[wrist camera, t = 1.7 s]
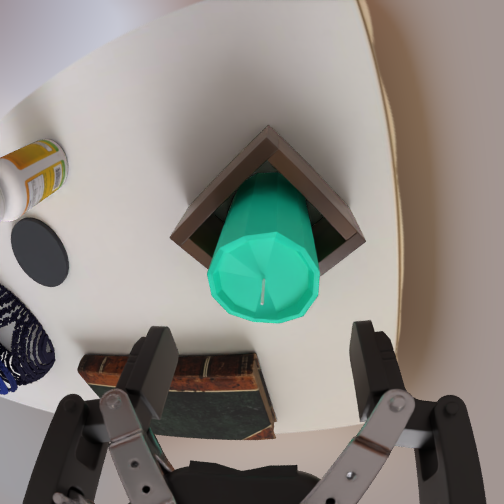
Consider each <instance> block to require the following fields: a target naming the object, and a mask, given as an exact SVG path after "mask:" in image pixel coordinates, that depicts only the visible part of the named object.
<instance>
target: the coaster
mask: <svg viewBox="0 0 504 504" xmlns="http://www.w3.org/2000/svg"><path fill="white" fill-rule="evenodd" d="M11 244H12V249H13V252H14V255H15V257H16V260H17V261H18V263H19V265H20V266H21V268H22V269H23V270H24V272H25V273H26V274H27V275H28V276H29V277H30V278H32V279H33V280H34V281H36V282H37V283H39V284H41V285H44V286H48V287H55V286H58V285H60V284H61V283H62V282H63V281H64V280H65V279H66V277H67V274H68V270H69V263H68V257H67V254H66V251H65V249H64V247H63V245H62V243H61V241H60V239H59V238H58V237H57V235H56V234H55V233H54V232H53V231H52V230H51V228H49V227H48V226H47V225H46V224H44V223H43V222H41V221H39V220H37V219H34V218H24V219H22V220H20V221H19V222H18V223H17V224H16V225H15V226H14V228H13V230H12V234H11Z"/></svg>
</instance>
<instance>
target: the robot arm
mask: <svg viewBox="0 0 504 504" xmlns="http://www.w3.org/2000/svg"><path fill="white" fill-rule="evenodd" d="M349 353H350V362H351V367H352V373H353V379H354V385H355V391H356V398H357V404H358V411H359V418H360V422H364V421H366V422H365V424H364V425H363V427H362V428H361V430H360V431H359V433H358V434H357V435H356V436H355V437H353V439H352V440H351V441H350V442H349V444H348V445H347V446H346V448H345V449H344V450H343V452H342V453H341V454H340V456H339V457H338V458H337V460H336V461H335V462H334V464H333V465H332V466H331V468H330V469H329V470H328V471H327V473H326V474H325V475H324V476H323V478H322V479H319V478H317V477H316V476H314V475H312V474H309V473H306V472H302V471H297V465H286V466H285V465H283V466H282V465H281V466H266V467H261V468H256V469H251V470H245V471H240V470H236V469H233V468H229V467H226V466H223V465H220V464H217V463H209V462H199V461H190V465H189V467H183V468H179V469H176V470H174V468H173V467H172V465H171V464H170V462H169V461H168V459H167V458H166V456H165V454H164V452H163V451H162V448H161V446H160V444H159V443H158V440H157V438H156V436H155V434H154V432H153V430H152V428H151V426H150V422H151V419H157V420H160V419H161V415H162V412H163V409H164V405H165V402H166V398H167V395H168V392H169V389H170V385H171V382H172V379H173V375H174V372H175V369H176V366H177V363H178V349H177V347H176V344H175V342H174V339H173V337H172V334H171V331H170V329H169V327H162V326H152V327H151V328H150V329H149V332H148V334H147V336H146V337H141V338H140V339H139V340H138V341H137V342H136V343H135V344H134V346H133V348H132V351H131V353H130V355H129V357H128V359H127V362H126V364H125V366H124V368H123V371H122V373H121V375H120V378H119V380H118V382H117V385H116V387H115V389H112V390H109V391H107V392H106V393H105V394H103V396H102V397H101V399H95V400H87V401H84V400H83V399H82V398H81V397H80V396H79V395H77V394H70V395H67V396H65V397H64V398H63V399H62V400H61V401H60V403H59V405H58V407H57V409H56V412H55V414H54V417H53V419H52V421H51V424H50V426H49V429H48V431H47V434H46V436H45V439H44V442H43V444H42V447H41V450H40V453H39V455H38V458H37V461H36V464H35V466H34V469H33V472H32V475H31V478H30V481H29V484H28V488H27V491H26V494H25V497H24V500H23V504H95V503H94V498H95V494H96V490H97V486H98V482H99V478H100V475H101V471H102V467H103V463H104V460H105V456H106V453H107V449H108V447H109V451H110V453H111V456H112V459H113V462H114V464H115V467H116V469H117V472H118V475H119V477H120V479H121V482H122V484H123V486H124V489H125V491H126V493H127V496H128V498H129V500H130V503H129V504H357V503H358V502H359V500H360V499H361V497H362V496H363V495H364V493H365V492H366V490H367V489H368V488H369V486H370V485H371V483H372V481H373V480H374V479H375V477H376V476H377V474H378V473H379V471H380V470H381V468H382V466H383V465H384V463H385V462H386V460H387V458H388V457H389V455H390V453H391V451H392V449H393V447H394V446H401V447H409V448H414V451H415V459H416V468H417V477H418V487H419V500H420V504H486V497H485V491H484V484H483V478H482V473H481V467H480V462H479V457H478V452H477V448H476V443H475V439H474V435H473V431H472V427H471V423H470V419H469V416H468V412H467V408H466V405H465V403H464V402H463V400H462V399H460V398H459V397H457V396H454V395H446V396H443V397H441V398H440V399H439V400H438V401H437V402H431V401H422V400H418V399H415V398H414V397H412V395H411V394H410V393H408V392H407V391H406V389H405V387H404V383H403V380H402V376H401V373H400V369H399V366H398V362H397V359H396V356H395V353H394V351H393V346H392V343H391V340H390V339H389V337H388V336H387V335H386V334H385V333H384V332H383V331H380V332H375V331H374V328H373V325H372V322H371V320H367V321H356V322H353V326H352V333H351V340H350V348H349ZM109 442H111V443H110V444H109Z"/></svg>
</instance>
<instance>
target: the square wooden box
mask: <svg viewBox="0 0 504 504" xmlns="http://www.w3.org/2000/svg"><path fill="white" fill-rule="evenodd" d="M266 160H267V161H268V162H269V163H270V164H271V165H272V166H274V167H275V168H276V169H277V170H278V171H279V172H280V173H281V174H282V175H283V176H284V177H285V178H286V179H287V180H288V181H289V182H290V183H291V184H292V185H293V186H294V187H295V188H296V189H297V190H298V191H299V192H300V193H301V194H302V195H303V196H304V197H305V198H306V199H307V200H308V201H309V202H310V203H311V204H312V205H313V206H314V207H315V208H316V209H317V210H318V211H319V212H320V213H321V214H322V215H323V216H324V217H323V218H322V219H321V220H320V221H319V222H317V223H316V224H315V225H314V226H313V227H311V228H312V233H313V238H314V244H315V249H316V254H317V259H318V265H319V270H320V276H321V275H323V274H324V273H325V272H327V271H328V270H329V269H331V268H332V267H333V266H335V265H336V264H337V263H339V262H340V261H341V260H343V259H344V258H345V257H347V256H348V255H349V254H350V253H352V252H353V251H354V250H356V249H357V248H358V247H359V246H361V245H362V244H363V243H365V242H366V240H365V238H364V236H363V234H362V232H361V230H360V228H359V226H358V224H357V222H356V219H355V217H354V215H353V213H352V212H351V210H350V208H349V207H348V206H347V205H346V204H345V202H344V201H343V200H342V199H341V198H340V197H339V196H338V195H337V194H336V193H335V191H334V190H333V189H332V188H331V187H330V186H329V185H328V184H327V183H326V182H325V181H324V180H323V179H322V178H321V176H320V175H319V174H318V173H317V172H316V171H315V170H314V169H313V168H312V167H311V166H310V165H309V164H308V163H307V162H306V161H305V160H304V159H303V158H302V157H301V156H300V155H299V154H298V153H297V152H296V151H295V150H294V149H293V148H292V147H291V146H290V145H289V144H288V143H287V142H286V141H285V140H284V139H283V138H282V137H281V136H280V135H279V134H278V133H277V132H276V131H275V130H274V129H273V128H272V127H271V126H270V125H268V126H267V127H266V128H265V129H264V130H263V131H262V132H261V133H260V134H259V135H258V136H257V137H256V138H255V139H254V140H253V141H252V142H251V143H250V144H249V145H248V146H247V147H246V148H245V149H244V150H243V151H242V152H241V153H240V154H239V155H238V156H237V157H236V158H235V159H234V160H233V161H232V162H231V163H230V164H229V165H228V166H227V167H226V168H225V169H224V170H223V171H222V172H221V173H220V174H219V175H218V176H217V177H216V178H215V179H214V180H213V181H212V182H211V184H210V185H209V186H208V187H207V188H206V189H205V190H204V191H203V192H202V193H201V194H200V195H199V196H198V197H197V198H196V200H195V201H194V202H193V203H192V204H191V205H190V206H189V207H188V209H187V211H186V212H185V214H184V215H183V217H182V218H181V220H180V222H179V223H178V225H177V226H176V228H175V229H174V231H173V233H172V234H171V236H170V239H171V240H173V241H174V242H175V243H176V244H177V245H179V246H181V248H182V249H184V250H185V251H186V252H187V253H188V254H190V255H191V256H192V257H193V258H195V259H196V260H197V261H198V262H200V263H201V264H202V265H203V266H205V267H206V268H207V269H209V267H210V264H211V261H212V258H213V255H214V252H215V249H216V246H217V243H218V240H219V237H220V235H221V232H222V229H223V226H224V223H223V222H222V221H221V220H220V219H219V218H217V217H216V216H215V215H214V214H213V212H214V211H215V210H216V209H217V208H218V207H219V206H220V205H221V204H222V203H223V202H224V201H225V200H226V199H227V198H228V197H229V196H230V195H231V194H232V193H233V192H234V191H235V190H236V189H237V188H238V187H239V186H240V185H241V184H242V183H243V182H244V181H245V180H246V179H247V178H249V177H250V176H251V175H252V174H253V173H254V172H255V171H256V170H257V169H258V168H259V167H260V166H261V165H262V164H263V163H264V162H265V161H266Z"/></svg>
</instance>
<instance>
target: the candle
mask: <svg viewBox="0 0 504 504" xmlns="http://www.w3.org/2000/svg"><path fill="white" fill-rule="evenodd" d="M207 276H208V281H209V285H210V290H211V295H212V297H213V298H214V299H215V300H216V301H217V302H218V303H219V304H220V305H221V306H222V307H223V308H224V309H225V310H226V311H227V312H228V313H229V314H231V315H234V316H237V317H240V318H243V319H246V320H249V321H252V322H264V323H283V322H286V321H289V320H293V319H296V318H299V317H302V316H304V315H305V313H306V312H307V310H308V309H309V308H310V306H311V305H312V303H313V302H314V301H315V299H316V298H317V296H318V292H319V277H320V270H319V265H318V259H317V254H316V249H315V244H314V238H313V233H312V228H311V223H310V219H309V214H308V209H307V204H306V200H305V197H304V196H303V195H302V194H301V193H300V192H299V191H298V190H297V189H296V188H295V187H294V186H293V185H292V184H291V183H290V182H289V181H288V180H287V179H286V178H285V177H284V176H283V175H282V174H280V173H278V172H273V173H257V174H255V175H253V176H252V177H250V178H249V179H247V180H245V181H244V182H243V183H242V184H241V185H240V186H239V188H238V190H237V192H236V194H235V196H234V198H233V201H232V204H231V206H230V209H229V212H228V215H227V218H226V220H225V223H224V226H223V229H222V232H221V235H220V237H219V240H218V243H217V246H216V249H215V252H214V255H213V258H212V261H211V264H210V267H209V269H208V272H207Z"/></svg>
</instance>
